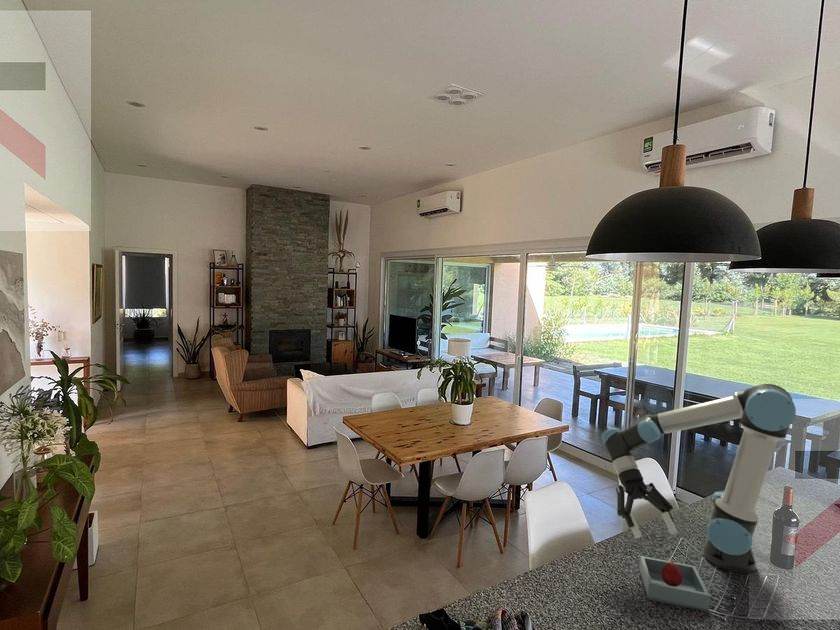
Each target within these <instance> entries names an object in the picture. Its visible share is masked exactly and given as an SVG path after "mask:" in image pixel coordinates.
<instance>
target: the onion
mask: <svg viewBox="0 0 840 630" xmlns="http://www.w3.org/2000/svg"><path fill="white" fill-rule="evenodd" d="M674 562H675V561H673V560H671V561H670V563H669V564H667V565H665V566H663V568H662V570H661V576H662V579H663V581H664V582H665V583H666V584H667V585H669V586H674V587H677V586H679V585H680V584H681V583H682V573H681V571H680V570H679V568H678V567H677V566H675V565H674V564H673V563H674Z"/></svg>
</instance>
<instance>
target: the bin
mask: <svg viewBox="0 0 840 630" xmlns="http://www.w3.org/2000/svg"><path fill="white" fill-rule="evenodd" d="M673 562H674V563H673V564H674V565H675V566H677V567H678V568H679V570H680V571H681V573H682V583H681V584H680V585H679V586H677V587H674V586H669V585H667V584H666V583H665V582H664V581H663V579H662V576H661V570H662V568H663V566H665V565H667V564H669V563H670V561H669V560H665V559H660V558H654V557H649V556H644V555H640V556H639V566H638V567H639V569H638V570H639V573H640V577H641V581H642V583H643V588H644V591H645V595H646V597H647V600H649V601H654V602H658V603H663V604H668V605H673V606H676V607H682V608H687V609H692V610H697V611H700V612H706V613H709V612H710V601H711V600H710V599H711V595H710V593H709V591H708V589H707V587H706V585H705V583H704V581H703V579H702V576H700V574H699V571H698V569H697V567H696V565H691V564H687V563H686V564H685V563H680V562H676V561H673Z"/></svg>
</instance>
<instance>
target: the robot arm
mask: <svg viewBox="0 0 840 630" xmlns="http://www.w3.org/2000/svg"><path fill="white" fill-rule="evenodd" d="M796 414H797V409H796V405H795V403H794V402H793V398H792V396H791V394H790V393H789V391H787V390H786V389H785V388H783V387H782V386H779V385H777V384H772V383H762V384H759V385H755V386H752V387H749V388H745V389H742V390H738V391H735V392H734V394H733V395H731V396H726V397H722V398H718V399H714V400H710V401H705V402H701V403H697V404H693V405H689V406H684V407H681V408H676V409H673V410H669V411H668V410H667V411H664V412H659V413H656V414H646V415H643V416H641V417H640V418H639V419H638V420H637V422H635V423H634V424H633V425H631V426H630V427H627V428H626V429H624V430H621V429H620V428H617V427H612V428H609V429H606V430H604V432H602V434H601V440H602V443H603V447H604V448H605V450H606V451H607V454H608V456H609V459H610V462H611V463H612V465H613V467H614V470H615V472H616V474H617V477H618V480H619V482H620V485H618V486H616V488H615V490H616V494H617V507H616V508H617V513H616V514H617V515H618V516H619V517H621V518H622V519H625V522H626V524H627V526H628V528H630V529H631V532H632V534H633V536H634V539H635V540H638V539H640V538H641V537H643V535H642V533H641V530H640V528H639V526H638V523H637V521H636V519H635V515H633V514H631V513H632V509H633V505H634V501H635V500H644V501H648V502H649V503H650V504H651V505H652V506H653V507H655V508H656V509H657V510H659V512H661V517H662V518H663V521H664V523H665V525H666V527H667V529H668V530H667V531H668V532H669V534H670V536H672V535H675V534H677V533H678V530H677V528H676V525H675V523H674V519H673V516H672V514H671V511H672V510H673V509H674V507H673V505H672V504H671V503H670V502H669V501H668V499H666V498H665V497H664V496H663V495H662V493H661V491H659V490H658V489H657V488H656V486H655V485H654V483H653V482H649V484H646V483H645V482H644V477H643V475H642V473H641V471H640V469H638V468H639V466H638V464H637V462H636V460H635V458H634V456H633V454H632V452H634V451H636V450H637V449H640V448H643V447H645V446H647V445H649V444H652V443H654V442H655V441H657V440H659V439H660V438H661V437H662V435H666V434H671V433H675V432H680V431H685V430H689V429H695V428H700V427H705V426H709V425H714V424H718V423H724V422H728V421H733V420H737V419H740V422H739V423H740V426H741V427H742V429H743V432H742V436H741V438H740V441H739V444H738V447H737V450H736V454H735V458H734V461H733V463H732V466H731V469H730V473H729V476H728V479H727V481H726V486H725V489H724V491H715V492H713V494H712V498H711V500H712V504H711V511H710V516H709V520H708V522H707V525H706V534H707V539H706V540H705V542H704V544H703V546H702V547H703V548H702V555H703V557H704V558H705V560H707V561H709V562H710V563H711V564H713V565H714V566H716V567H719V568H721V569H722V570H725V571H729V572H733V573H738V574H752V573H754V572H755V571H756V566H757V565H756V564H757V563H756V558H755V555H754V552H753V549H752V546H753V537H754V533H755V530H756V527H757V525H758V521H759V515H757V513H756V512H755V510H756V507H757V504H758V501H759V498H760V494H761V491H762V489H763V485H764V483H765V480H766V477H767V473H768V471H769V469H770V465H771V461H772V459H773V456H774V453H775V450H776V446H777V444H778V442H779V441H781V440H785V439H786V437H787V434H788V431H789V429H790V426H791V424H793V422H794V421H795V418H796ZM626 494H627V496H625V495H626ZM625 497H626V499H625ZM625 500H626V502H625Z"/></svg>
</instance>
